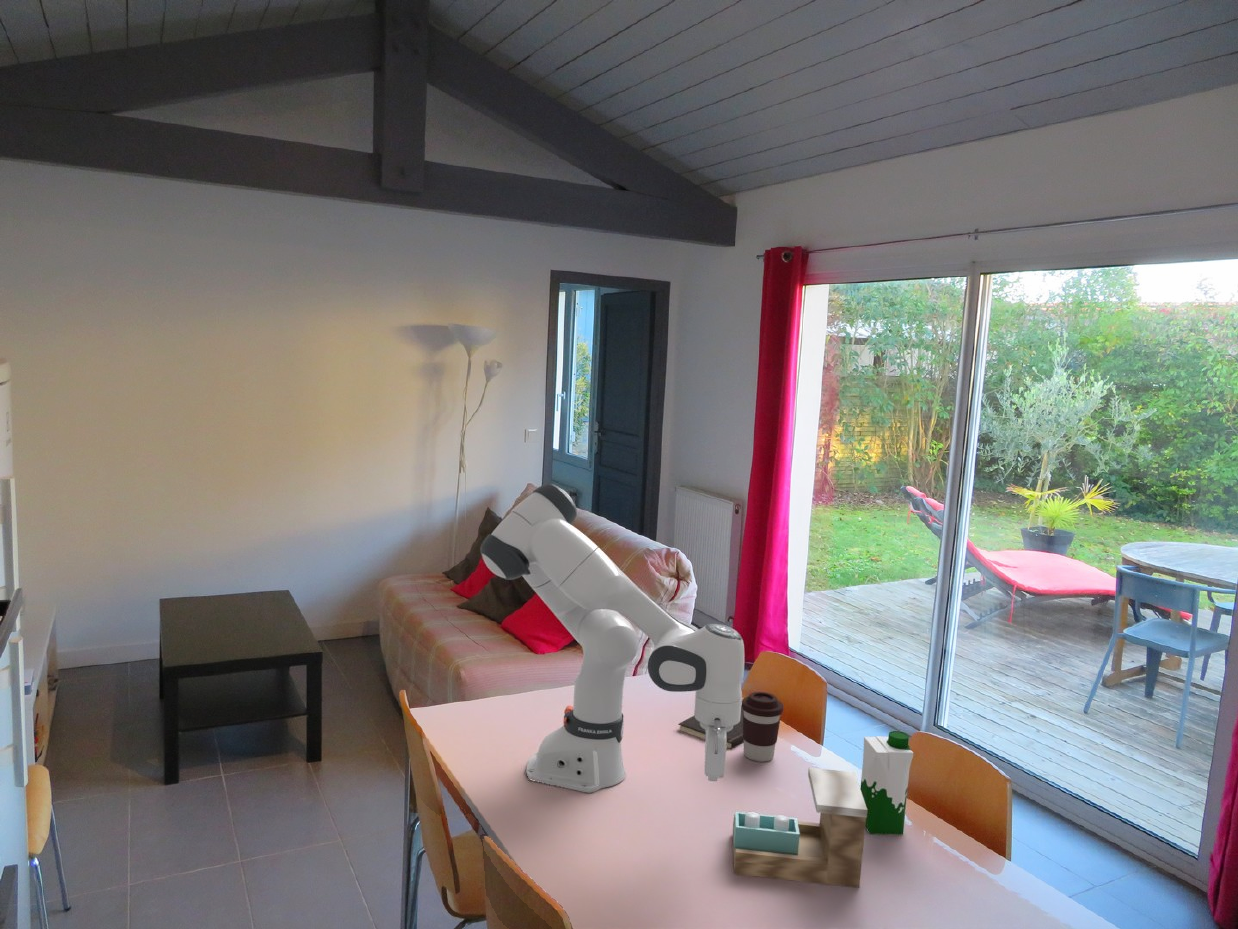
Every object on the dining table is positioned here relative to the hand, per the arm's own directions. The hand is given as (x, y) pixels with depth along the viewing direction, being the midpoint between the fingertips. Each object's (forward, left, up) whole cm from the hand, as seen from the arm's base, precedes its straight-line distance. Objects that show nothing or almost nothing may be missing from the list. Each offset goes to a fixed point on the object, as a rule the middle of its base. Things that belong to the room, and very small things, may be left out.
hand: (712, 778), depth 173 cm
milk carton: (+36, +17, -15) cm, 43 cm away
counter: (+16, 0, -15) cm, 22 cm away
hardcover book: (+5, +61, -16) cm, 63 cm away
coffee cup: (+12, +45, -15) cm, 49 cm away
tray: (+11, 0, -12) cm, 17 cm away
